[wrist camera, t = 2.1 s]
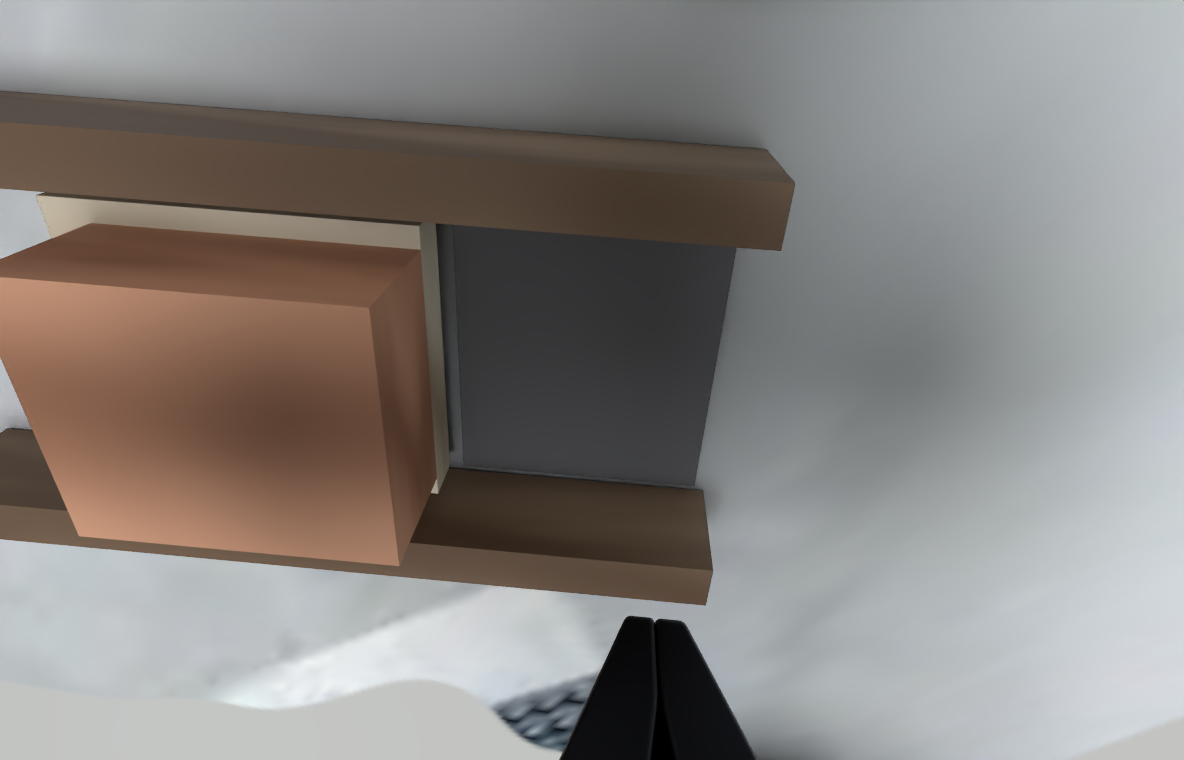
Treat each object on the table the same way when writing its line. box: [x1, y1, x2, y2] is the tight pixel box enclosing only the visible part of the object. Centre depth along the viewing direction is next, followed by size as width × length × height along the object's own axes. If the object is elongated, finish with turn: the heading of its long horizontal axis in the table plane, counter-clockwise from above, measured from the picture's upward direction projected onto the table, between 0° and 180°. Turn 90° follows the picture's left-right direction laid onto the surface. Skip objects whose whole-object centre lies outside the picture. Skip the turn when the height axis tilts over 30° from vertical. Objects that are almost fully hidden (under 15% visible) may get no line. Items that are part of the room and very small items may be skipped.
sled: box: [0, 192, 450, 566], centre depth 14 cm, size 7×8×4 cm
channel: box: [0, 91, 795, 605], centre depth 15 cm, size 10×20×3 cm, turn 87°
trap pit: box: [453, 225, 736, 486], centre depth 16 cm, size 7×6×1 cm
